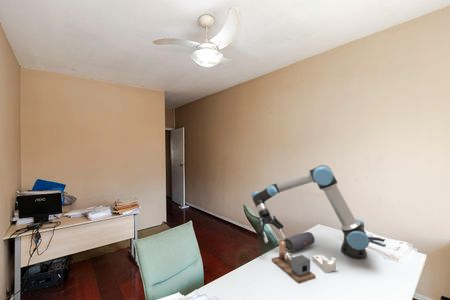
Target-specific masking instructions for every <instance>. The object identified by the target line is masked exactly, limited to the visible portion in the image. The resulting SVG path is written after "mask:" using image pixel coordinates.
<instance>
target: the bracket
mask: <svg viewBox="0 0 450 300" xmlns="http://www.w3.org/2000/svg"><path fill="white" fill-rule="evenodd" d="M311 260H312V261H311V262H313V264H315V265H316V266H317V268H319V269H320V270H321V271H322V272H324V274H328V273H331V272H336V271H337V258H336V257H333V256H331V259H328V258H327V257H326V256H324V254H318V255H317V254H316V255H312V256H311Z"/></svg>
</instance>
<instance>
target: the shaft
mask: <svg viewBox="0 0 450 300" xmlns="http://www.w3.org/2000/svg"><path fill="white" fill-rule="evenodd" d="M286 251H287V249H286V242H285V241H284V239H283V240H282V239H281V240H278V257H279V259H281V260H286V261H291V258H292V257H293V255H292V254H291V253H290V251H289V252H288V251H287V252H286Z"/></svg>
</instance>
